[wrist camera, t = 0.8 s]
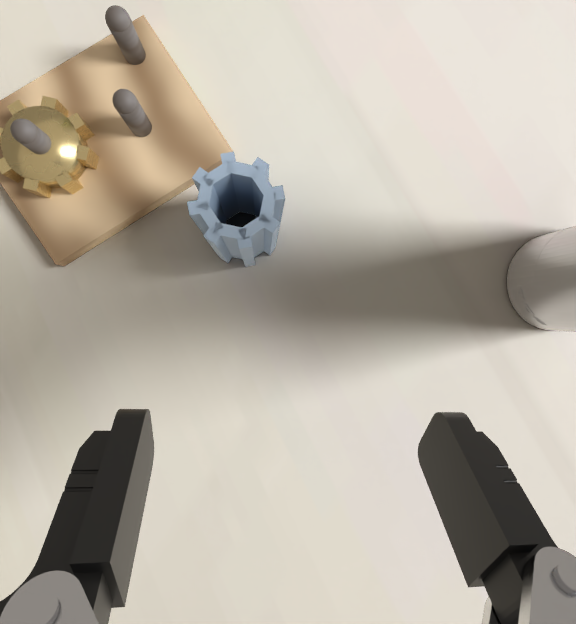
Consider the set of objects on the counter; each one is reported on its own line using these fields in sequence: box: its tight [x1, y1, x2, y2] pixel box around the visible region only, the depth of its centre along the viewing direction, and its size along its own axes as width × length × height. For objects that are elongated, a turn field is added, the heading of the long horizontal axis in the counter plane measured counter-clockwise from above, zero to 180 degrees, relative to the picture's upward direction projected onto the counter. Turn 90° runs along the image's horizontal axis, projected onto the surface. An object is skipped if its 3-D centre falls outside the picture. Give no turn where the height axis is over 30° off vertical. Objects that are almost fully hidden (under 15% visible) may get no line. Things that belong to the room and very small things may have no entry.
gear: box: [0, 96, 99, 198], centre depth 33 cm, size 8×8×2 cm
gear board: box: [0, 6, 233, 266], centre depth 32 cm, size 18×14×6 cm
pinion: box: [187, 152, 285, 267], centre depth 31 cm, size 6×6×10 cm
